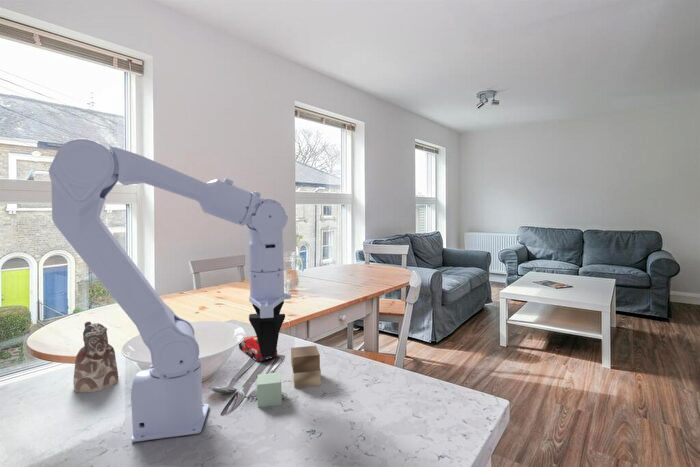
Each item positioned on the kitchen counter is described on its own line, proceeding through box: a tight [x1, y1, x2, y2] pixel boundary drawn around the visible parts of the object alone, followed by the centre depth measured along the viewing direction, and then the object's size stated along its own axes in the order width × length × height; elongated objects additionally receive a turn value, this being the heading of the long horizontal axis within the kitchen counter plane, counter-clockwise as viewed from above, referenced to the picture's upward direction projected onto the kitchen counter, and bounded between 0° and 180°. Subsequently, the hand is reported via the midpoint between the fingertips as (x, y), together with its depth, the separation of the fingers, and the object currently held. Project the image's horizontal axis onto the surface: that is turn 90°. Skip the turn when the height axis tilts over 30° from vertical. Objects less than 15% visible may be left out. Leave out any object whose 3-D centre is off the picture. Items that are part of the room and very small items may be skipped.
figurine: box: [72, 321, 119, 393], centre depth 72 cm, size 7×7×12 cm
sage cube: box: [256, 371, 283, 408], centre depth 65 cm, size 4×4×4 cm
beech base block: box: [292, 369, 322, 389], centre depth 72 cm, size 5×5×3 cm
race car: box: [238, 335, 278, 362], centre depth 87 cm, size 13×5×4 cm, turn 36°
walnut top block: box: [290, 345, 321, 374], centre depth 72 cm, size 5×5×3 cm
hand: (268, 347), depth 64 cm, fingers open, 7 cm apart
